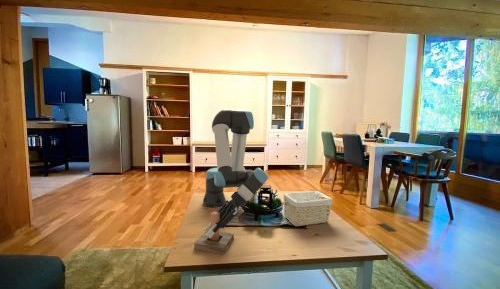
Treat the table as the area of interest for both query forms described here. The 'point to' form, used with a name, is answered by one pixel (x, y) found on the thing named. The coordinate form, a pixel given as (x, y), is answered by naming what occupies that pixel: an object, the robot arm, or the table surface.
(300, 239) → the table surface
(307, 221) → the storage basket
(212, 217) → the pin
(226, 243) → the socket block
